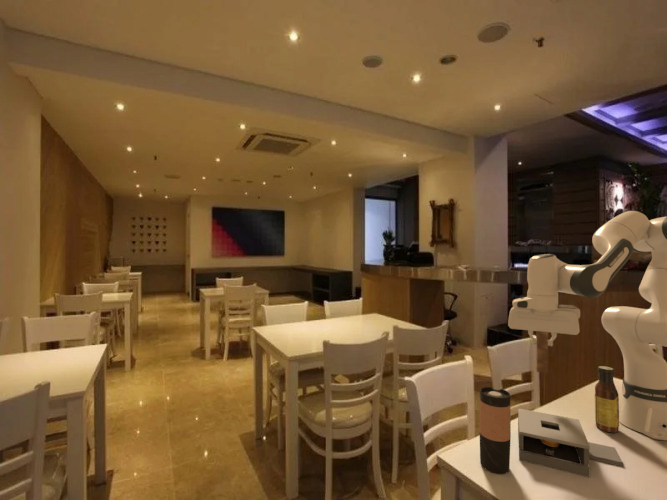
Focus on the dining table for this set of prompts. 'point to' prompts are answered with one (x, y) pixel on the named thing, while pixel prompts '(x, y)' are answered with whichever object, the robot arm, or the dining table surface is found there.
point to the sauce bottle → (606, 401)
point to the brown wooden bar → (542, 352)
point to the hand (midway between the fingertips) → (542, 344)
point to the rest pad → (604, 454)
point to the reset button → (550, 443)
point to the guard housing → (553, 440)
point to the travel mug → (495, 430)
